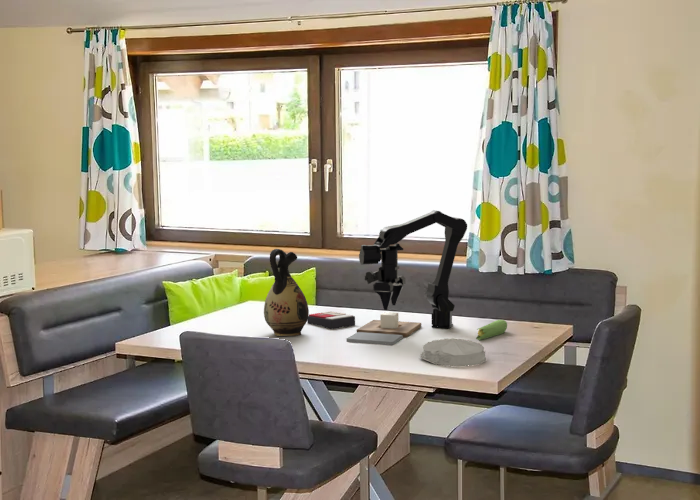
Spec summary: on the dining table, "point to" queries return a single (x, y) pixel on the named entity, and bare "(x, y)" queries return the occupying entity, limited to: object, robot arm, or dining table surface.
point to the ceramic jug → (285, 298)
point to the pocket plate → (402, 329)
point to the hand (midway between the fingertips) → (389, 307)
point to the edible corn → (492, 329)
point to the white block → (389, 320)
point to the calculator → (331, 320)
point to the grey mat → (374, 338)
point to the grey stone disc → (454, 352)
